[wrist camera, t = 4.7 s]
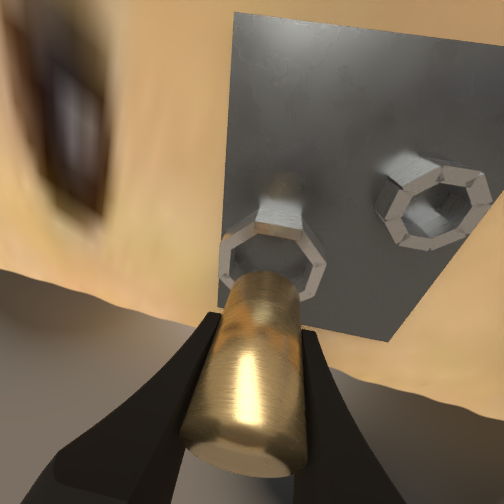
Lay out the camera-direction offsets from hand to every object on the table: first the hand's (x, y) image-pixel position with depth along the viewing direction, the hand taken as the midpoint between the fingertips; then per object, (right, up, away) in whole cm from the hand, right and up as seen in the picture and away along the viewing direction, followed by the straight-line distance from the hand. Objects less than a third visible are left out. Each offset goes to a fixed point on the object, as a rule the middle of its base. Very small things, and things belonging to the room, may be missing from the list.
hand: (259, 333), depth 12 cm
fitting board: (+6, +6, +5) cm, 10 cm away
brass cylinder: (0, +1, +1) cm, 2 cm away
